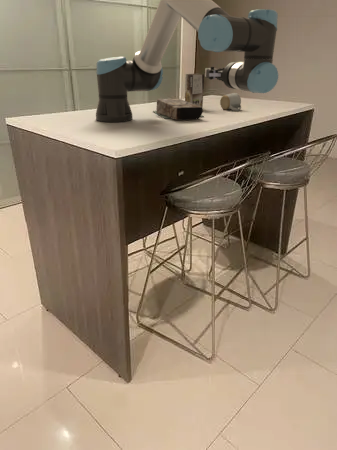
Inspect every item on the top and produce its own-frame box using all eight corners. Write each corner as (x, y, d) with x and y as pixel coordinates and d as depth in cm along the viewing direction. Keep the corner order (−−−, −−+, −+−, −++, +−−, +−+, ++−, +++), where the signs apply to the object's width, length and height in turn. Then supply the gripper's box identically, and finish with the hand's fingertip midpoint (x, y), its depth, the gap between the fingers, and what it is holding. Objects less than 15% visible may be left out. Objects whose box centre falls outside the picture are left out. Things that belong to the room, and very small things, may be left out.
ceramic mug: (218, 109, 173) (219, 93, 169) (230, 107, 177) (231, 92, 174) (232, 112, 165) (234, 95, 162) (244, 110, 169) (246, 94, 166)
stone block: (176, 103, 136) (156, 96, 152) (174, 121, 139) (154, 112, 155) (204, 105, 142) (182, 99, 158) (201, 123, 145) (179, 114, 161)
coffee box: (203, 109, 172) (204, 74, 165) (191, 109, 170) (193, 74, 163) (195, 106, 180) (196, 73, 173) (184, 107, 178) (185, 73, 171)
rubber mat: (165, 118, 145) (165, 117, 144) (152, 111, 162) (152, 110, 161) (204, 117, 150) (204, 116, 149) (188, 110, 167) (188, 109, 166)
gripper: (218, 89, 101) (189, 83, 121) (256, 88, 105) (222, 83, 125) (220, 61, 98) (190, 60, 118) (259, 61, 101) (224, 60, 121)
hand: (207, 72), depth 121 cm, fingers closed
